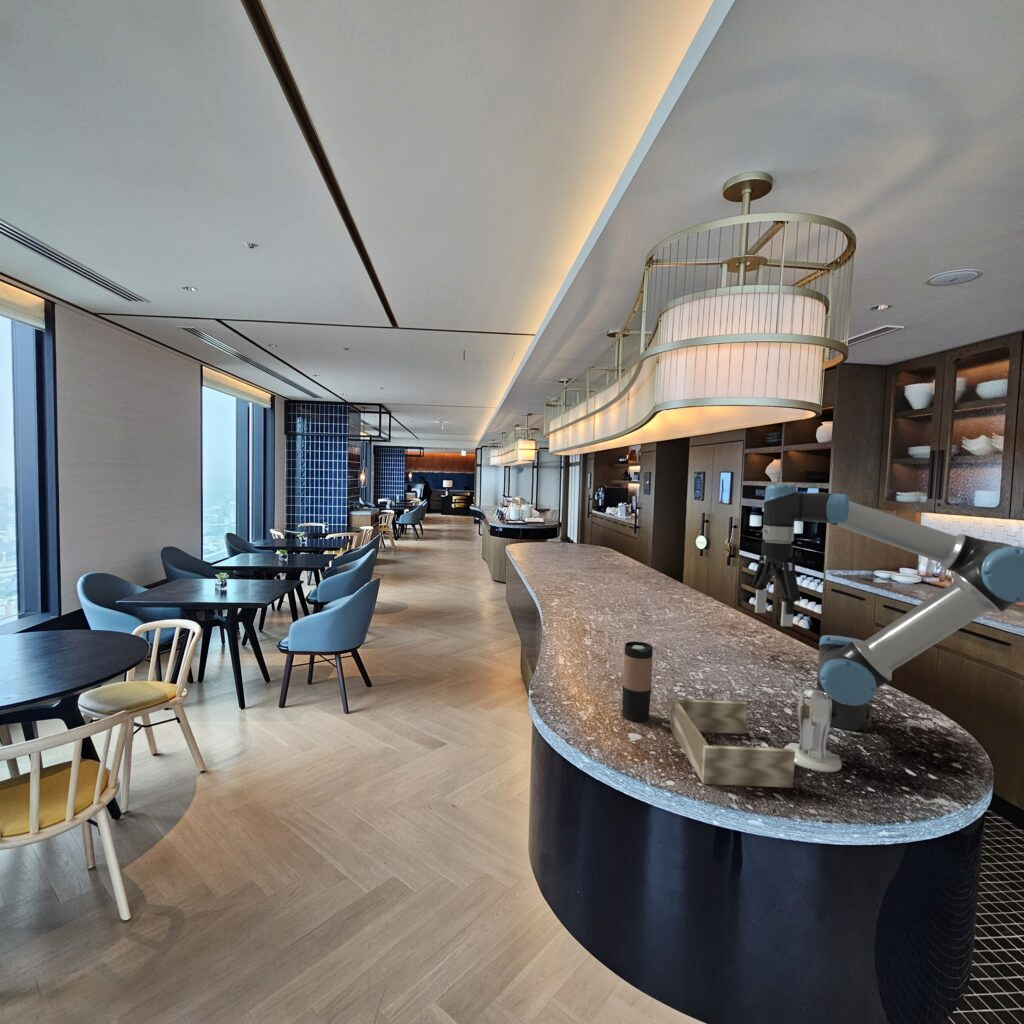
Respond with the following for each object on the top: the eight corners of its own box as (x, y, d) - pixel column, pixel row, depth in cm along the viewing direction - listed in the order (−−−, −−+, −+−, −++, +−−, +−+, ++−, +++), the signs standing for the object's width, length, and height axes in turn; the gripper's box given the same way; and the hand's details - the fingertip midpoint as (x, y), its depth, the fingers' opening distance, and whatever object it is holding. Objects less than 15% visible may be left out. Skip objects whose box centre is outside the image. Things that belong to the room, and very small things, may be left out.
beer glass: (797, 759, 124) (801, 697, 123) (793, 745, 131) (797, 686, 130) (831, 765, 122) (835, 702, 121) (825, 751, 128) (829, 691, 127)
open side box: (743, 731, 139) (745, 701, 138) (792, 787, 114) (795, 751, 113) (670, 728, 139) (671, 699, 138) (703, 783, 114) (705, 748, 113)
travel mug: (629, 708, 151) (632, 639, 150) (654, 716, 146) (657, 645, 145) (616, 716, 145) (619, 645, 144) (642, 725, 140) (645, 652, 139)
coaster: (822, 746, 132) (823, 744, 132) (853, 773, 120) (853, 771, 120) (774, 744, 132) (774, 742, 132) (799, 771, 120) (800, 768, 120)
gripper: (742, 536, 155) (738, 607, 156) (789, 547, 130) (784, 631, 131) (767, 536, 155) (763, 607, 156) (819, 548, 130) (813, 632, 131)
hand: (772, 619), depth 144 cm, fingers open, 13 cm apart
